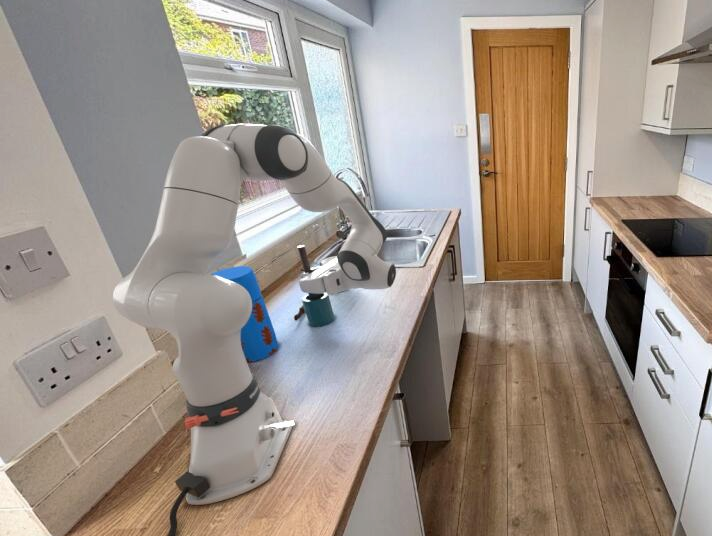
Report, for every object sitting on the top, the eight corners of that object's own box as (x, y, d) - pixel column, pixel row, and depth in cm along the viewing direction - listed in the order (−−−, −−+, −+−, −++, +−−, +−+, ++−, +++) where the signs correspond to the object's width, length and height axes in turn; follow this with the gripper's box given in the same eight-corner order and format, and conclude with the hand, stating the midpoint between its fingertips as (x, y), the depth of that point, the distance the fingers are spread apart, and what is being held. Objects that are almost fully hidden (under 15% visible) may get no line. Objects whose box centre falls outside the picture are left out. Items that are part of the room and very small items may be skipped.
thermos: (260, 363, 113) (229, 282, 102) (228, 360, 115) (195, 280, 105) (287, 342, 123) (261, 266, 112) (257, 340, 125) (229, 265, 114)
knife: (308, 300, 149) (306, 293, 148) (313, 299, 149) (311, 292, 148) (294, 324, 133) (291, 316, 132) (299, 324, 133) (296, 316, 132)
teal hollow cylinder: (334, 323, 132) (327, 298, 129) (308, 328, 130) (301, 303, 126) (334, 312, 139) (328, 289, 135) (309, 317, 137) (302, 294, 133)
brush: (324, 310, 132) (306, 246, 123) (312, 312, 131) (294, 248, 121) (324, 306, 135) (307, 243, 125) (313, 308, 134) (295, 245, 124)
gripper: (360, 253, 133) (323, 252, 135) (323, 277, 115) (281, 276, 117) (364, 270, 135) (327, 269, 138) (329, 297, 117) (287, 296, 120)
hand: (305, 273), depth 127 cm, fingers closed on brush, 2 cm apart
